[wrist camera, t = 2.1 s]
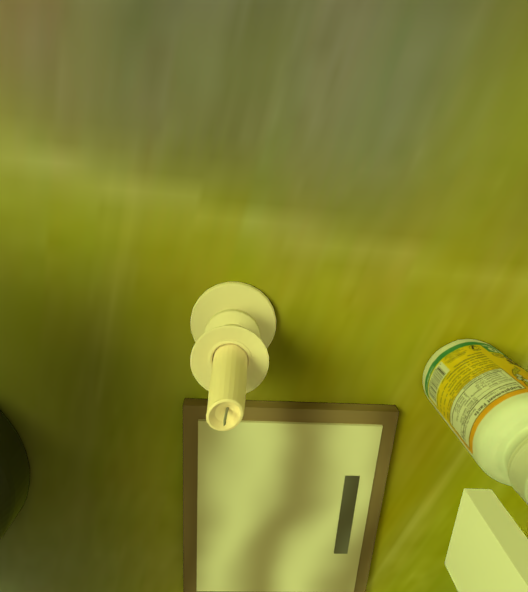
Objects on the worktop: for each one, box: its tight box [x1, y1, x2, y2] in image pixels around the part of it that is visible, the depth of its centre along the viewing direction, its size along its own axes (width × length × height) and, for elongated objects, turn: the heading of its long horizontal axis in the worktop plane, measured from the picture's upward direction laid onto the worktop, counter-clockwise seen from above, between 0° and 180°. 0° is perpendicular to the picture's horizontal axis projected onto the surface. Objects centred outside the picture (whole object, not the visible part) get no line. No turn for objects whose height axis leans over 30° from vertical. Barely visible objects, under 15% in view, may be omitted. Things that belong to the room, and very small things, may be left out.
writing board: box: [183, 398, 399, 592], centre depth 29 cm, size 14×17×1 cm
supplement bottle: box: [422, 339, 528, 504], centre depth 22 cm, size 5×5×10 cm
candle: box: [190, 282, 276, 431], centre depth 20 cm, size 5×5×10 cm
